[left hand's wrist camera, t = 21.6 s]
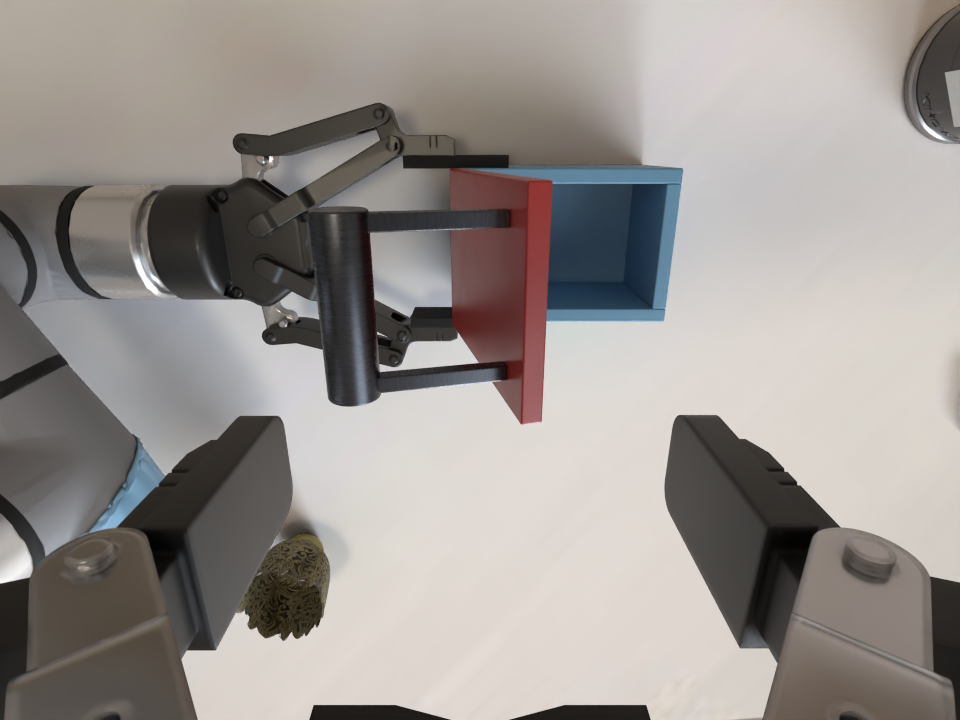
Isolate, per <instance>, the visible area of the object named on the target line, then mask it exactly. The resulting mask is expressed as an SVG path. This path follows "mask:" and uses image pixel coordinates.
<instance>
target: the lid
mask: <svg viewBox="0 0 960 720" xmlns="http://www.w3.org/2000/svg"><path fill="white" fill-rule="evenodd" d="M552 185H553V182H552V181H551V180H546V179H538V178H531V177H523V176H516V175H508V174H501V173H493V172H486V171H478V170H471V169H450V210H420V211H380V212H368V209H366V208H363V207H321V208H314V209H310V210H308V220H309V229H310V238H311V247H312V256H313V266H314V275H315V284H316V293H317V302H318V311H319V320H320V329H321V338H322V347H323V356H324V365H325V374H326V383H327V392H328V399H329V400H330V402H332V403H333V404H336V405H339V406H360V405H365V404H368V403H371V402H373V401H375V400H377V399H378V398H379V397H380V395H381V393H384V392H394V391H404V390H414V389H424V388H435V387H445V386H455V385H465V384H475V383H485V382H492V383H493V384H494V385H495V387H496V388H497V390H498V391H499V393H500V394H501V396H502V397H503V399H504V400H505V402H506V403H507V405H508V406H509V407H510V409H511V410H512V412H513V413H514V415H515V416H516V418H517V419H518V421H519V422H520V424H522V425H524V424H532V423H540V422H541V421H542V402H543V380H544V358H545V337H546V315H547V293H548V272H549V250H550V228H551V206H552ZM433 230H451V272H452V324H453V325H454V327H455V328H456V330H457V331H458V333H459V334H460V336H461V337H462V339H463V340H464V342H465V343H466V345H467V346H468V347H469V349H470V350H471V352H472V353H473V355H474V356H475V358H476V359H477V361H478V362H479V363H476V364H465V365H454V366H443V367H432V368H421V369H410V370H399V371H388V372H380V369H379V355H378V341H377V327H376V313H375V299H374V285H373V271H372V257H371V243H370V233H373V232H403V231H433Z"/></svg>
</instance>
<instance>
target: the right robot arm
mask: <svg viewBox="0 0 960 720" xmlns="http://www.w3.org/2000/svg"><path fill="white" fill-rule="evenodd" d="M374 130H377V133H378V135H379V138H380V141H378V142H377V143H375V144H374V145H372V146H370V147H369V148H367V149H366V150H364V151H362V152H361V153H359V154H358V155H356V156H354V157H353V158H351V159H349V160H348V161H346V162H345V163H343V164H341V165H340V166H338V167H337V168H335V169H333V170H332V171H330V172H329V173H327V174H325V175H324V176H322V177H320V178H319V179H317V180H316V181H314V182H312V183H311V184H309V185H308V186H306V187H304V188H302V189H300V190H298V191H296V192H295V193H293V194H291V195H290V196H288V195H286V194H285V193H283V192H282V191H280V190H279V189H277V188H276V187H274V186H273V185H272V184H270V183H269V182H267V181H266V180H264V179H263V176H264V173H265V172H266V171H267V170H268V169H272V168H275V167H276V166H277V165H278V163H279V156H288V155H293V154H298V153H301V152H304V151H308V150H311V149H314V148H317V147H321V146H324V145H327V144H331V143H334V142H337V141H341V140H344V139H347V138H351V137H354V136H357V135H361V134H364V133H367V132H370V131H374ZM233 146H234V148H235V150H236V151H237V152H239V153H240V154H241V161H242V175H243V178H242V179H240V180H239V181H237V182H236V183H234V184H231V185H171V186H168V187H166V188H163V187H161V186H159V185H96V186H83V187H72V186H30V185H0V583H5V582H10V581H15V580H20V579H24V578H29V577H30V576H31V574H32V572H33V570H34V569H35V567H36V566H37V565H38V563H39V562H40V561H42V560H43V559H44V558H45V557H46V556H47V555H48V554H50V553H51V552H52V551H54V550H55V549H57V548H58V547H60V546H62V545H64V544H66V543H67V542H69V541H71V540H74V539H76V538H78V537H81V536H83V535H86V534H89V533H92V532H96V531H99V530H104V529H110V528H116V527H117V526H118V525H119V524H120V523H121V522H122V521H123V520H124V519H125V518H126V517H127V516H128V515H129V514H130V513H131V512H132V511H133V510H134V508H135V507H136V506H137V505H138V504H139V503H140V502H141V501H142V500H143V499H144V498H145V497H146V496H147V495H148V494H149V493H150V492H151V491H152V490H153V489H154V488H155V487H159V483H160V482H161V481H162V480H163V479H164V477H165V476H164V474H163V473H162V472H161V471H160V469H159V468H158V466H157V465H156V464H155V462H154V461H153V460H152V458H151V457H150V456H149V454H148V453H147V452H146V450H145V449H144V447H143V445H142V443H141V442H140V439H139V438H138V437H136V436H135V435H134V434H131V433H130V432H129V431H128V430H127V429H126V428H125V427H124V425H123V424H122V423H121V422H120V421H119V420H118V419H117V418H116V417H115V416H114V414H113V413H112V412H111V411H110V410H109V409H108V408H107V407H106V406H105V405H104V404H103V402H102V401H101V400H100V399H99V398H98V397H97V396H96V395H95V394H94V393H93V391H92V390H91V389H90V388H89V387H88V386H87V385H86V384H85V383H84V382H83V381H82V379H81V378H80V377H79V376H78V375H77V374H76V373H75V372H74V371H73V370H72V368H71V367H70V366H69V364H68V363H67V361H66V360H65V359H64V358H63V357H62V356H61V355H60V353H59V352H58V351H57V349H56V348H55V347H54V346H53V345H52V344H51V342H50V341H49V340H48V339H47V338H46V337H45V335H44V334H43V333H42V332H41V331H40V330H39V329H38V327H37V326H36V325H35V324H34V323H33V322H32V320H31V319H30V318H29V317H28V316H27V315H26V313H25V312H24V311H23V310H22V309H23V308H26V307H29V306H32V305H35V304H38V303H41V302H46V301H52V300H67V299H153V300H171V299H175V298H177V297H179V298H182V299H244V300H248V301H251V302H254V303H256V304H257V305H260V306H262V309H263V314H264V318H265V322H266V326H267V329H266V330H264V331H263V333H262V338H263V340H264V341H265V342H266V343H267V344H269V345H277V344H290V343H298V344H302V345H306V346H310V347H314V348H318V349H322V350H323V347H322V338H321V329H320V320H318V319H313V318H307V317H298V315H297V313H296V312H295V311H293V310H288V309H285V308H284V307H283V306H282V305H281V303H280V300H282V299H283V298H284V297H285V296H287V295H288V294H289V293H291V292H294V293H296V294H298V295H300V296H302V297H304V298H306V299H309V300H312V301H317V293H316V284H315V275H314V266H313V256H312V247H311V238H310V229H309V220H308V210H310V209H314V208H317V207H318V206H320V205H321V204H323V203H324V202H326V201H327V200H329V199H330V198H332V197H334V196H335V195H337V194H339V193H340V192H342V191H344V190H345V189H347V188H348V187H350V186H352V185H353V184H355V183H357V182H358V181H360V180H362V179H363V178H365V177H366V176H368V175H370V174H371V173H373V172H375V171H376V170H378V169H380V168H381V167H383V166H384V165H386V164H388V163H389V162H391V161H393V160H394V159H396V158H398V157H399V156H403V168H508V166H509V155H455V139H453V138H451V137H449V136H446V135H405V134H404V133H402V131H401V130H400V128H399V126H398V124H397V121H396V118H395V113H394V111H393V110H392V109H391V108H390V107H388V106H386V105H384V104H382V103H375V104H372V105H368V106H365V107H362V108H359V109H355V110H352V111H349V112H346V113H342V114H339V115H336V116H332V117H329V118H326V119H323V120H319V121H316V122H313V123H310V124H306V125H303V126H300V127H297V128H293V129H290V130H287V131H284V132H280V133H277V134H274V135H271V136H268V135H257V134H244V133H241V134H237V135H236V136H235V137H234V139H233ZM375 313H376V327H377V332H379V333H381V334H383V335H385V336H387V337H385V336H381V335H377V341H378V355H379V364H382V365H386V366H390V367H398V366H400V365H401V363H402V361H403V359H404V356H405V353H406V351H407V347H408V345H409V344H410V343H412V342H414V341H452V340H455V339H457V336H458V331H457V330H456V328H455V327H454V325H453V324H452V307H415V309H414V311H413V314H412V315H411V317H410V318H409V317H407V316H405V315H404V314H402V313H400V312H398V311H396V310H394V309H392V308H390V307H388V306H386V305H384V304H382V303H380V302H378V301H377V300H375Z"/></svg>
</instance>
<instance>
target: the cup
mask: <svg viewBox="0 0 960 720" xmlns="http://www.w3.org/2000/svg"><path fill="white" fill-rule="evenodd" d="M329 582H330V566H329V561H328V559H327V557H326V555H325V553H324V549H323V545H322V543H321V541H320V540H319V539H318V538H317V537H315V536H314V535H311V534H306V533H302V534H298V535H296V536H294V537H292V538H291V539H290V540H286V541H283V542H281V543H279V544H277V545H275V546H274V547H273V548H271V549H270V550H269V551H268V552H267V554H266V556H265V558H264V560H263V562H262V564H261V566H260V568H259V569H258V571H257V573H256V575H255V577H254V579H253V581H252V583H251V585H250V586H249V588H248V590H247V592H246V594H245V596H244V598H243V600H242V602H241V603H240V605H239V607H238V609H237V611H236V613H241V612H242V611H244V609H245V614H246V615H247V614H248V615H249V617H250V618H249V622H248V624H247V625H248V627H249V629H254V628H256V627H257V628H258V631H259V633H260V634H261V635H262V636H263V637H264V638H270V637H272V636H275V635H276V634H280V633H281V637H280V636H279V637H280V638H281V639H282V640H283V641H284V640H286V639H287V637H288V636H289V634H290V633H291V632H292V633H293V636H294V637H295V638H296V639H298V638H300V637H301V636H303V634H304V633H305V636H307V635H308V633H309V632H310V630H311V629H312V628H313V627H314V625H316V627H318V625H319V623H320V619H321V617H322V618H323V615H324V608H325V603H326V598H327V593H328V588H329ZM292 630H293V631H292Z"/></svg>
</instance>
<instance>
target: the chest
mask: <svg viewBox="0 0 960 720" xmlns="http://www.w3.org/2000/svg"><path fill="white" fill-rule="evenodd" d="M458 169H471V170H478V171H486V172H493V173H501V174H508V175H516V176H523V177H531V178H538V179H546V180H551V181H552V182H553V185H552V206H551V228H550V250H549V272H548V293H547V315H546V321H626V322H663V321H664V316H665V309H664V308H665V307H666V300H667V292H668V284H669V276H670V268H671V260H672V253H673V245H674V237H675V229H676V221H677V213H678V205H679V198H680V190H681V184H680V183H681V182H682V174H683V169H682V168H672V167H660V166H648V165H509V166H508V168H458Z"/></svg>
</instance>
